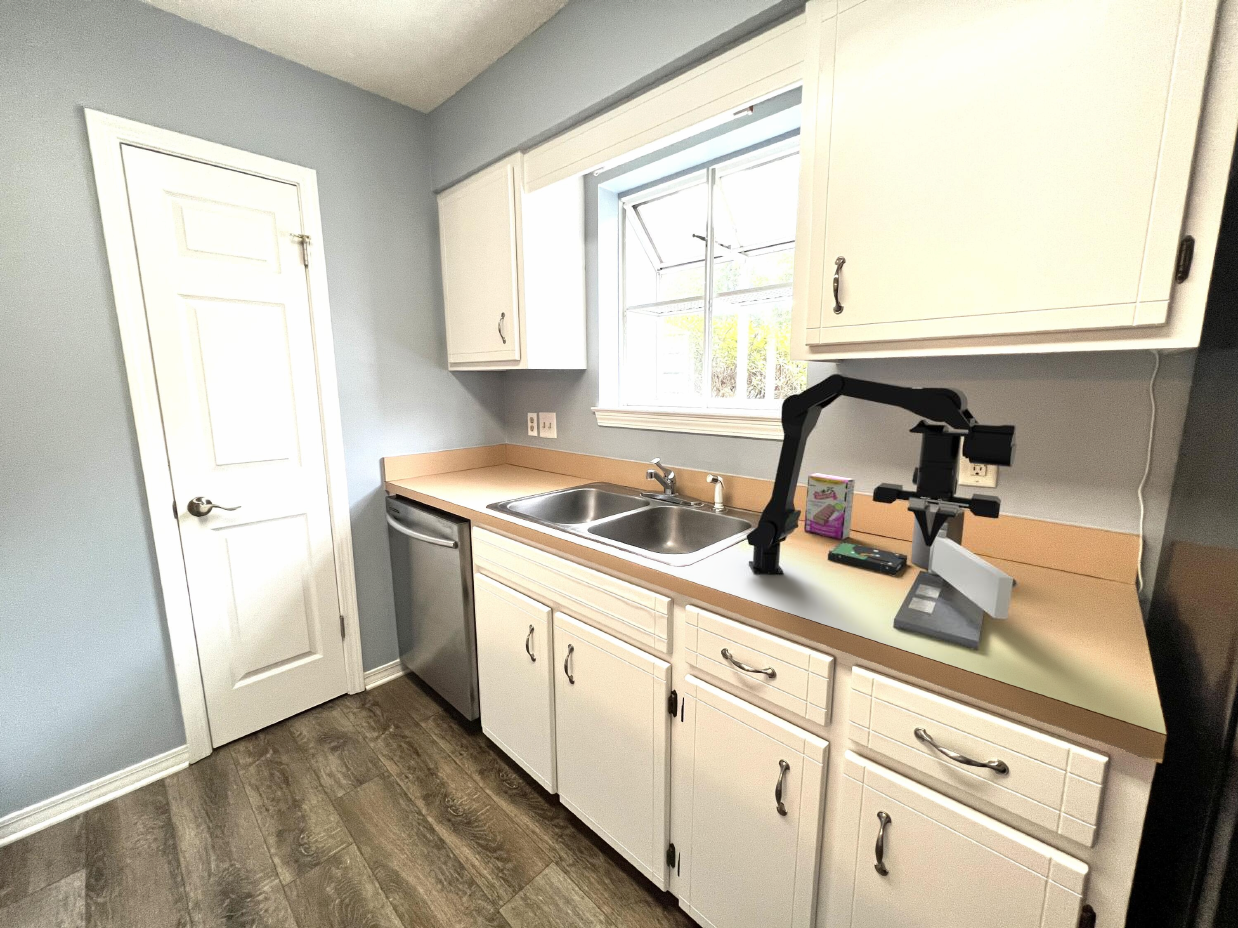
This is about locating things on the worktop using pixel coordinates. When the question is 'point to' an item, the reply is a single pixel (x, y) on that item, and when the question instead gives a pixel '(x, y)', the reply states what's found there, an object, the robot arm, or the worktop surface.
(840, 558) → the disk drive
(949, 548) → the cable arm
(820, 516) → the candy bar box
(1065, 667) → the worktop surface
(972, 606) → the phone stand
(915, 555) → the pillar candle
